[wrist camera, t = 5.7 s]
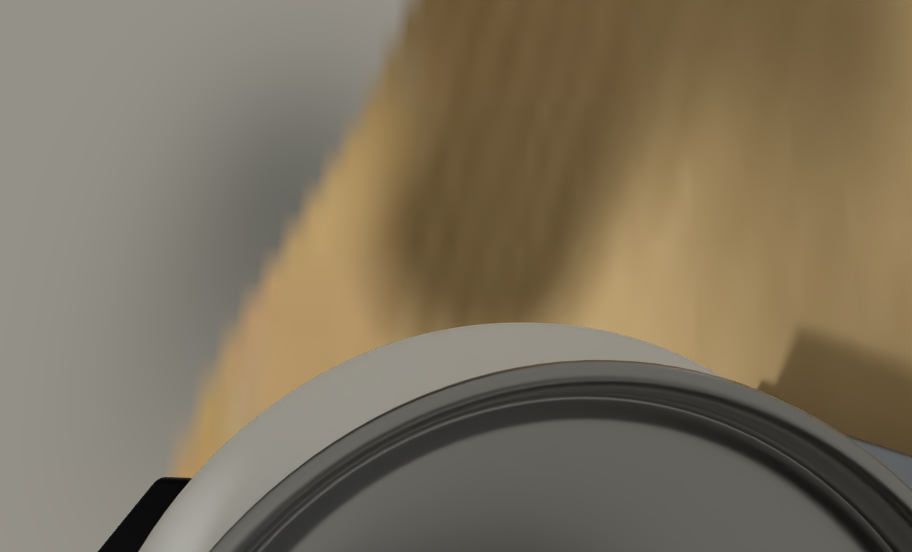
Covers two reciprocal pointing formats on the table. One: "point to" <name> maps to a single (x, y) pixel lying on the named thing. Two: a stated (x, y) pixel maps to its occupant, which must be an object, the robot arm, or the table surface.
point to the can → (535, 458)
